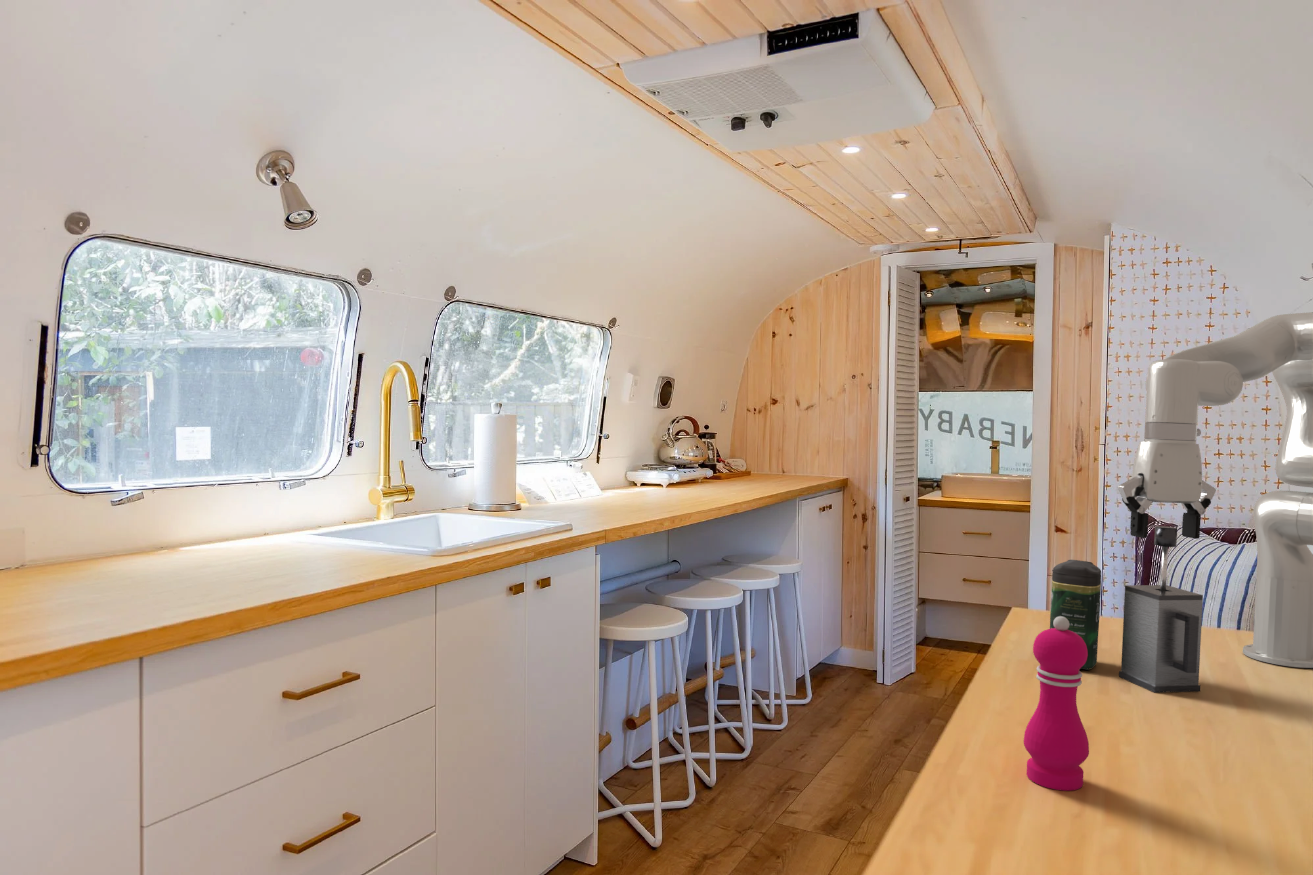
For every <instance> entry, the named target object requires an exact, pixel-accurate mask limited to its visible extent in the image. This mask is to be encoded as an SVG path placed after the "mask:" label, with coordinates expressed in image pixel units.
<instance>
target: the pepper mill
mask: <svg viewBox="0 0 1313 875" xmlns="http://www.w3.org/2000/svg"><path fill="white" fill-rule="evenodd" d="M1053 625H1054V627H1055V628H1051V629H1050V628H1047V629H1044V630H1042V631H1041V632H1039V633H1038V635H1036V636H1035V639H1034V641H1033V645H1032V654H1033V655H1034V658H1035V659H1036V661H1037V662H1038V663H1039V665H1037V667H1036V672H1037V673H1036V676H1035V678H1036V679H1037V680H1038V681H1039V689H1040V690H1039V699H1038V702H1037V703H1038V704H1037V706H1036V708H1035V710H1034V713H1033V714H1032V716H1031V717H1030V719H1029V721H1028V723H1027V725H1026V728H1025V730H1024V735H1023V745H1024V749H1025V750H1026V751H1027V752H1028V754H1029V756H1030V758H1029V759H1027V761H1026V777H1027V778H1028V780H1030V781H1031V780H1032V781H1031V782H1032V783H1034V782H1035V783H1034V784H1036V785H1038V784H1039V785H1038V786H1041V787H1043V788H1047V789H1051V790H1056V791H1064V792H1065V791H1067V792H1068V791H1070V792H1071V791H1077V790H1080V789H1081V788H1082V787H1083V785H1084V769H1083V768H1082V767H1081V766H1080V765H1082V764H1083V763H1084V762H1085V761H1086V760H1087V759H1088V757H1089V755H1090V746H1089V745H1090V744H1089V738H1088V735H1087V731H1086V729H1085V727H1084V725H1083V722H1082V719H1081V716H1080V714H1079V710H1078V705H1077V704H1078V703H1077V694H1078V693H1077V692H1078V687H1079V686H1081V685H1082V682H1083V681H1082V677H1083V673H1082V672H1081V671H1080V670H1081V669H1080V668H1081V667H1082V666H1083V665H1084V664H1085V663H1086V661H1087V656H1088V651H1087V646H1086V644H1085V642H1084V640H1083V639H1082V638H1081V637H1080V636H1079V635H1078V634H1076V633H1074V632H1072V631H1070V630H1067V629H1068V628H1069V621H1068V620H1067V619H1066V618H1065V617H1062V616H1059V617H1056V618H1055V619H1054V621H1053Z"/></svg>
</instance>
